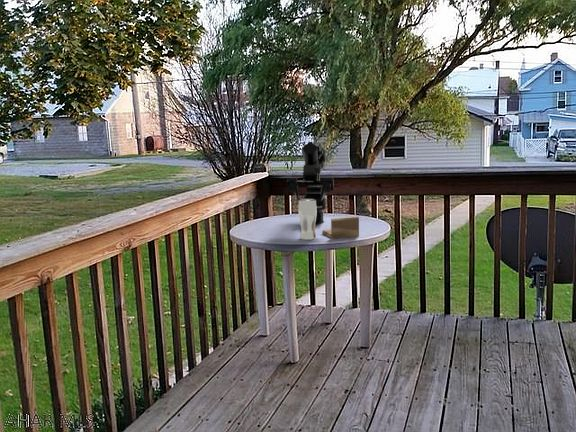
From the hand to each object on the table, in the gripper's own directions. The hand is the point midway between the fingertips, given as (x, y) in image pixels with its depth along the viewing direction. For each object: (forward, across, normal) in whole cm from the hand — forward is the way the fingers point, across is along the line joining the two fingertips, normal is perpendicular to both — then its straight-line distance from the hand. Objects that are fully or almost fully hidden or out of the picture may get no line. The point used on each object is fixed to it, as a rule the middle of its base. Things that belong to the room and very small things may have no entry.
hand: (309, 200), depth 221 cm
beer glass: (+15, 0, +4) cm, 16 cm away
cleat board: (+10, +12, +9) cm, 18 cm away
